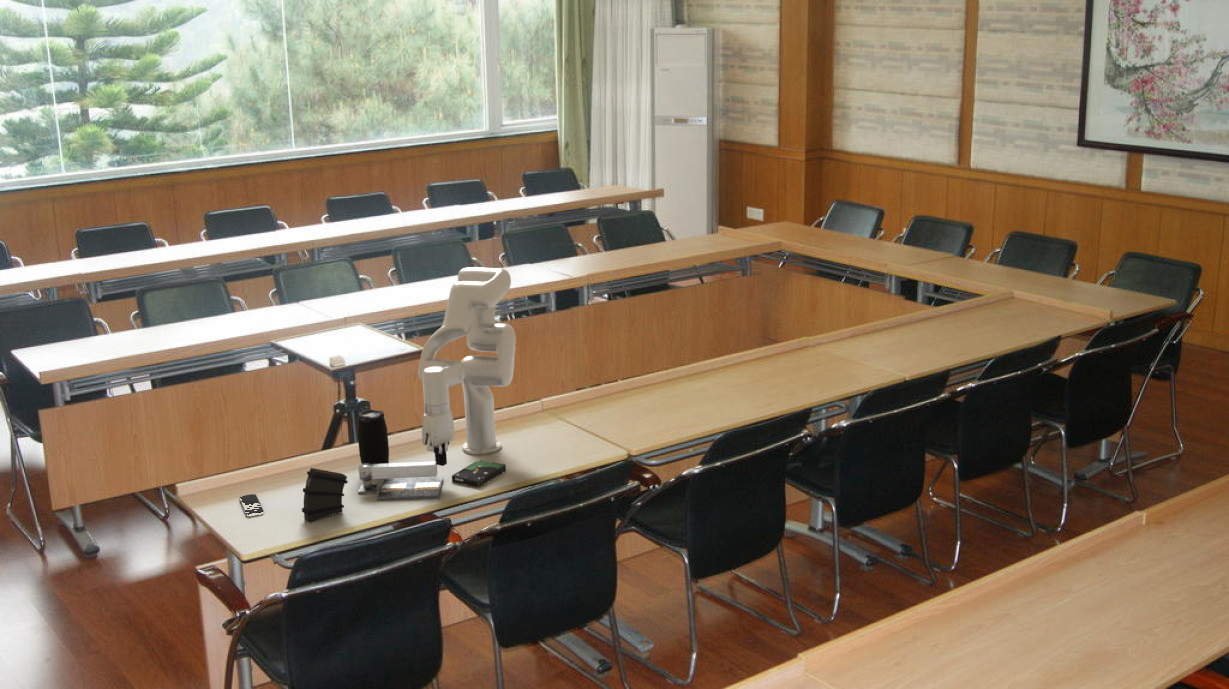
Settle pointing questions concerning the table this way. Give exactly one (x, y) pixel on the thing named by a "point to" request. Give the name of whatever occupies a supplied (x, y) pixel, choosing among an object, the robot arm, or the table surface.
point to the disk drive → (478, 473)
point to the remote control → (251, 500)
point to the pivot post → (367, 487)
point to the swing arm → (397, 470)
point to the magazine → (323, 494)
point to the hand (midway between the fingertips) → (441, 464)
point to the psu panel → (410, 488)
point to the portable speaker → (373, 437)
